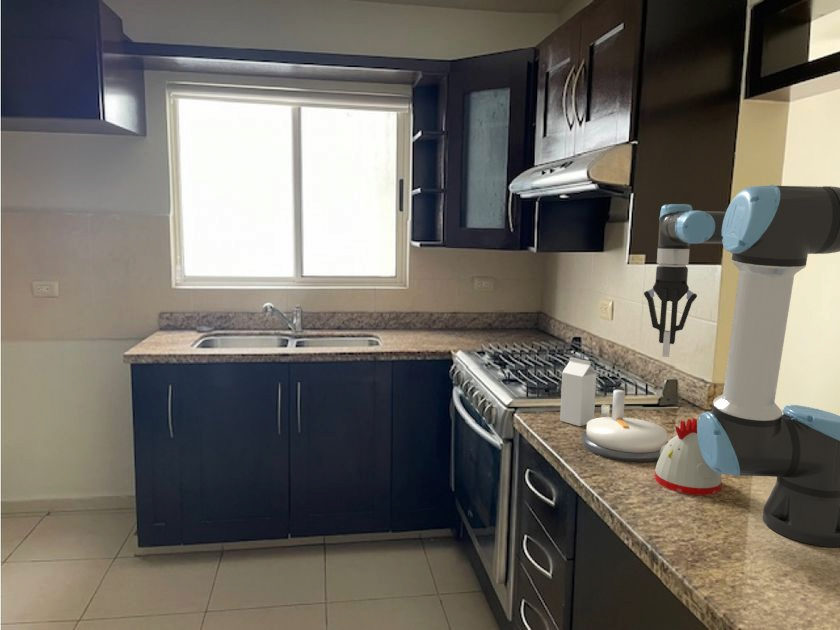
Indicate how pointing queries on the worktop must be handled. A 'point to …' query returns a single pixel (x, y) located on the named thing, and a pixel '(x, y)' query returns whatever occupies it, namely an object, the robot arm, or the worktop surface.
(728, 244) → the robot arm
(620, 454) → the dial base
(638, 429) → the dial
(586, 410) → the milk carton
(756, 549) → the worktop surface
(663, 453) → the kitchen timer
